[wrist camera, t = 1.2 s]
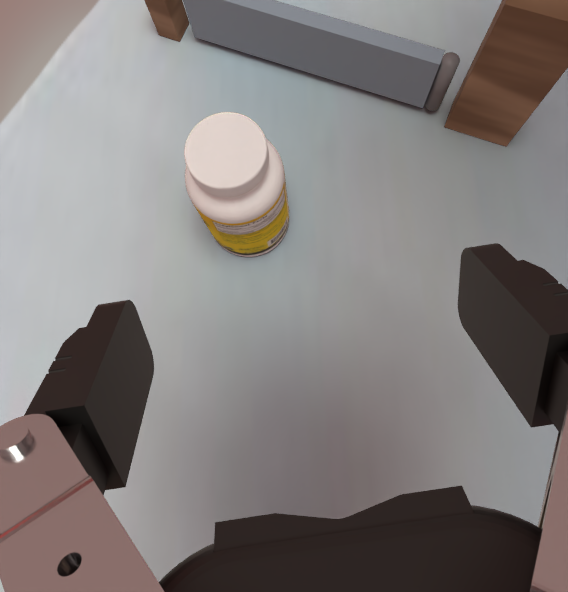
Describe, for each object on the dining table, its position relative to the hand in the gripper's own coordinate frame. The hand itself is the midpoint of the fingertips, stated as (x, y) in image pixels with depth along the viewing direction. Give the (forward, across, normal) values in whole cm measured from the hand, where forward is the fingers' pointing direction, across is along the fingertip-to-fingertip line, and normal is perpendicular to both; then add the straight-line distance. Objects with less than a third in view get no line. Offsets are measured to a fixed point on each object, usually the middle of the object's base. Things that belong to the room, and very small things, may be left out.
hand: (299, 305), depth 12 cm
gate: (+33, -5, -2) cm, 33 cm away
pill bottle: (+25, +2, +8) cm, 26 cm away
